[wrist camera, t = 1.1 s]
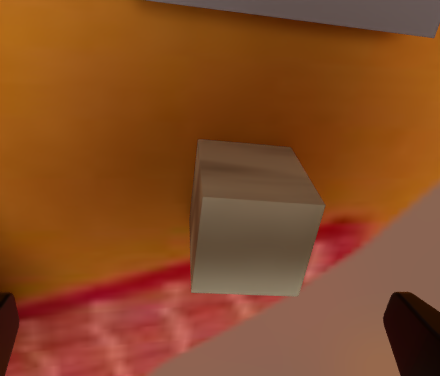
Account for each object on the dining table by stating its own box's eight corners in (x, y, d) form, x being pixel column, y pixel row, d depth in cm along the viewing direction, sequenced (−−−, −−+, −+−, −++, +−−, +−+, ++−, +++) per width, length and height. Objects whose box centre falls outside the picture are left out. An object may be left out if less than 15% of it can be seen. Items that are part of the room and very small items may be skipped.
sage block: (272, 223, 24) (298, 296, 18) (189, 218, 23) (191, 292, 18) (290, 146, 21) (325, 205, 16) (197, 138, 21) (202, 196, 15)
